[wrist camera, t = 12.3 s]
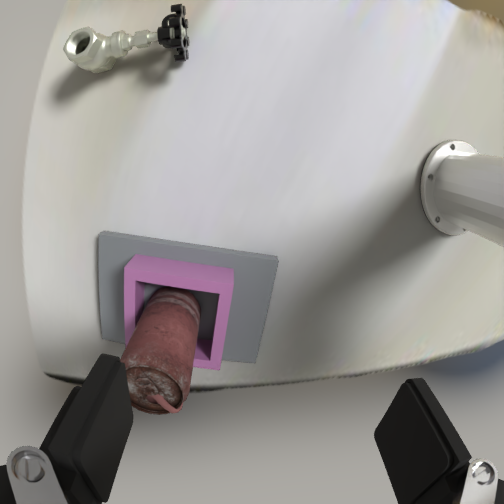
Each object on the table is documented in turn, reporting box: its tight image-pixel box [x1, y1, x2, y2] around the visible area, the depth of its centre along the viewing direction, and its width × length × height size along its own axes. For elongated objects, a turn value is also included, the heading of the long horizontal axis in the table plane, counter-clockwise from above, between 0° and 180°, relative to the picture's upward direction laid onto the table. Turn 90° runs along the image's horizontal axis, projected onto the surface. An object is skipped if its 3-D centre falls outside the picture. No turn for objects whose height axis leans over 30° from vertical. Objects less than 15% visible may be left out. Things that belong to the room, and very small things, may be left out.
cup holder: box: [98, 231, 278, 370], centre depth 33 cm, size 20×14×6 cm
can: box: [120, 286, 201, 415], centre depth 27 cm, size 6×6×14 cm
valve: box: [63, 4, 189, 73], centre depth 23 cm, size 7×7×12 cm
